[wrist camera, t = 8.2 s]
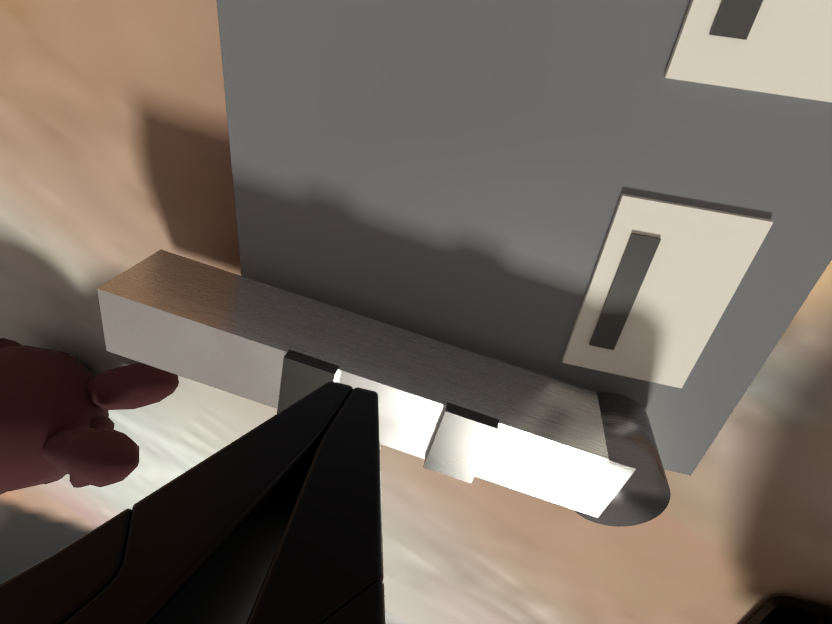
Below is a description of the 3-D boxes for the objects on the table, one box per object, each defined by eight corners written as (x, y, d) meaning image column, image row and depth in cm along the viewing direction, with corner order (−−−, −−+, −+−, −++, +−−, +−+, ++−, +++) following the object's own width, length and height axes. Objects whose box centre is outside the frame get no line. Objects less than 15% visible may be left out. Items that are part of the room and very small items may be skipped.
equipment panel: (683, 455, 19) (692, 481, 18) (261, 357, 21) (246, 376, 20) (1161, -317, 8) (1255, -368, 7) (208, -370, 10) (170, -415, 9)
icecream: (-123, 520, 23) (162, 535, 21) (-303, 441, 18) (51, 449, 16) (-18, 399, 28) (222, 401, 26) (-136, 309, 23) (152, 301, 20)
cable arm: (666, 409, 16) (693, 489, 13) (624, 464, 18) (640, 546, 15) (160, 243, 17) (88, 286, 14) (164, 310, 19) (100, 361, 16)
